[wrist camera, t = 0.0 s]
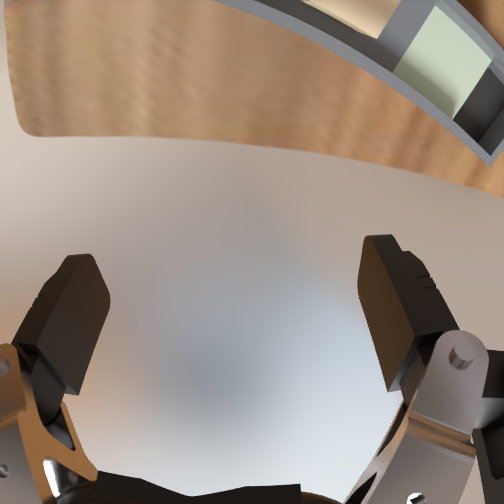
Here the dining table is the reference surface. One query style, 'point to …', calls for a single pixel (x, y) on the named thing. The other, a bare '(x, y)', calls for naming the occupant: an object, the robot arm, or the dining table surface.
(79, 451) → the robot arm
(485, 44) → the channel deck
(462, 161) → the dining table surface
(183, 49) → the dining table surface
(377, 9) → the wood block
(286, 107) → the dining table surface
